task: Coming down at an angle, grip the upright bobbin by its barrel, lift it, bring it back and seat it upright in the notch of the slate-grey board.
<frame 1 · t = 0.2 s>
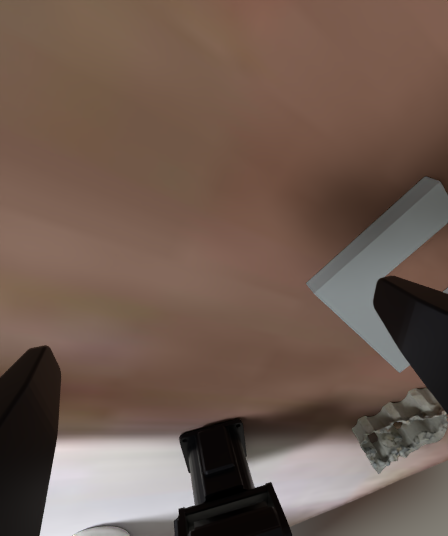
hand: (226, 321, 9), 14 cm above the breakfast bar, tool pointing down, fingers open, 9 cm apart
notched board: (404, 284, 31), on the breakfast bar
egg carton: (390, 414, 42), on the breakfast bar
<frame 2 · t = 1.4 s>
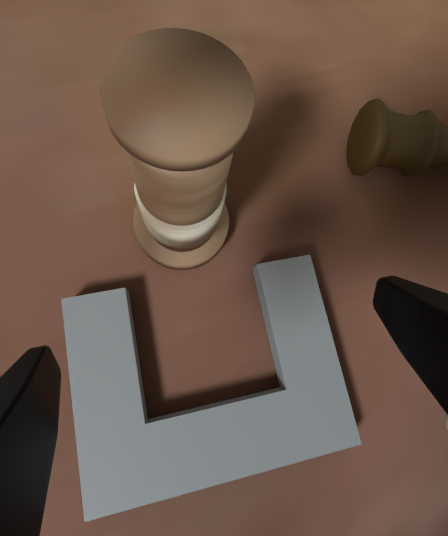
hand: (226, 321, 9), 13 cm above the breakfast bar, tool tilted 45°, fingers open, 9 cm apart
bobbin: (182, 225, 24), on the breakfast bar
notched board: (209, 370, 22), on the breakfast bar
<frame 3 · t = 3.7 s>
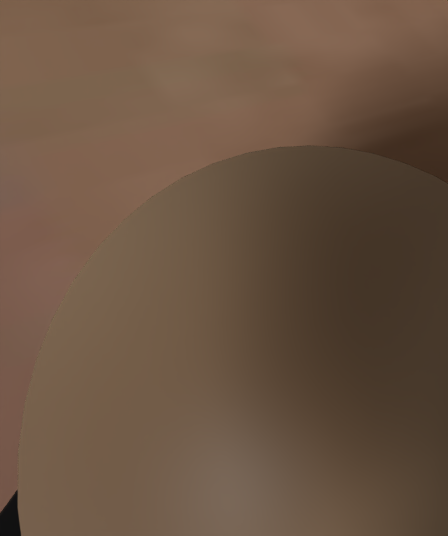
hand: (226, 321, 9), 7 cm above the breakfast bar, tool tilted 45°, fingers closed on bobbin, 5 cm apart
bobbin: (215, 364, 15), on the breakfast bar, touching gripper
when the fingers open (8 cm above the breakfast bar, at t = 7.1 s): bobbin drops 1 cm, on the breakfast bar.
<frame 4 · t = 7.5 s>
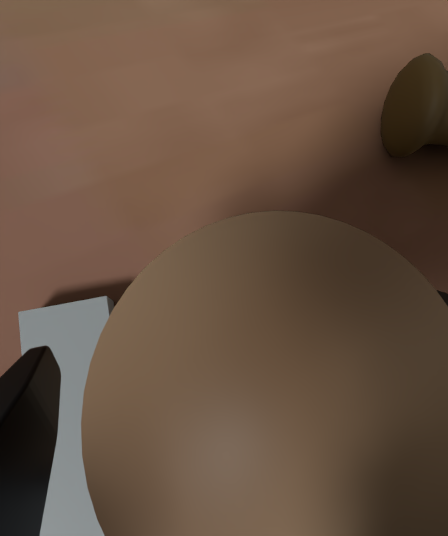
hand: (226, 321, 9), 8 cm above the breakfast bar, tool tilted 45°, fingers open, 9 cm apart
bobbin: (213, 364, 17), on the breakfast bar
notched board: (221, 405, 16), on the breakfast bar
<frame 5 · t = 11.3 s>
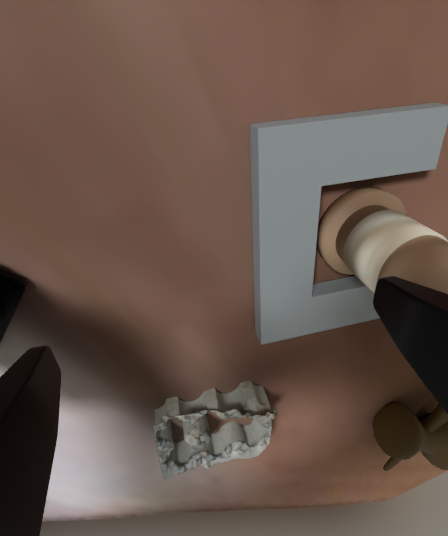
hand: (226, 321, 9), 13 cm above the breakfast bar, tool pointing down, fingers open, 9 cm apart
bobbin: (356, 228, 25), on the breakfast bar
notched board: (332, 233, 24), on the breakfast bar
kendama: (422, 392, 40), on the breakfast bar
egg carton: (210, 409, 32), on the breakfast bar
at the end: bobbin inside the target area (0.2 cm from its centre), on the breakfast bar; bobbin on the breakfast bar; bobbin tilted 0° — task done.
